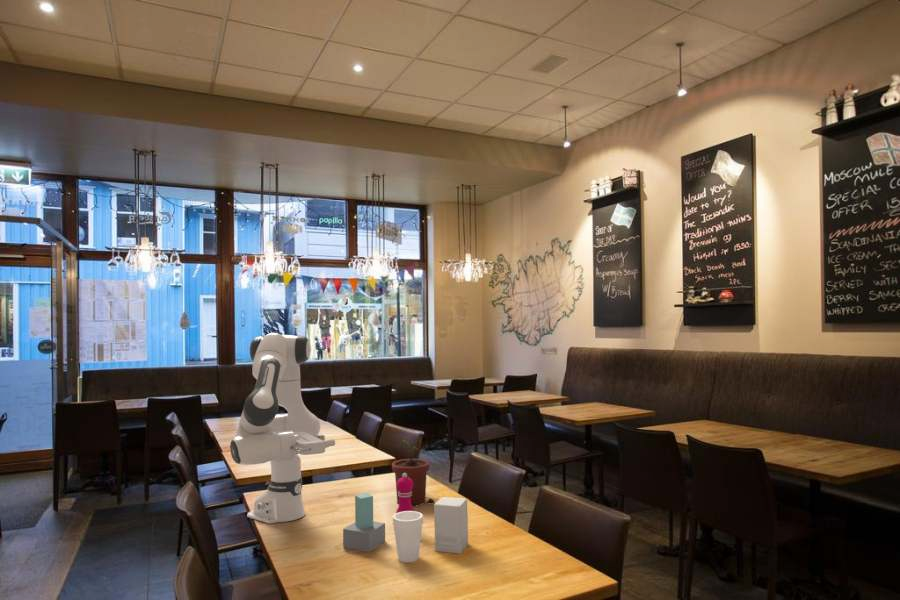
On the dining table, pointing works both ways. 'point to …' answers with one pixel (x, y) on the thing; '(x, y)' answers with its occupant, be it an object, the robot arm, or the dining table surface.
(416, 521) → the foam cup
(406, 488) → the pepper mill
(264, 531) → the dining table surface
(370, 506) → the block
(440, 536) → the supplement box
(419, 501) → the potted plant
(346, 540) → the pedestal
